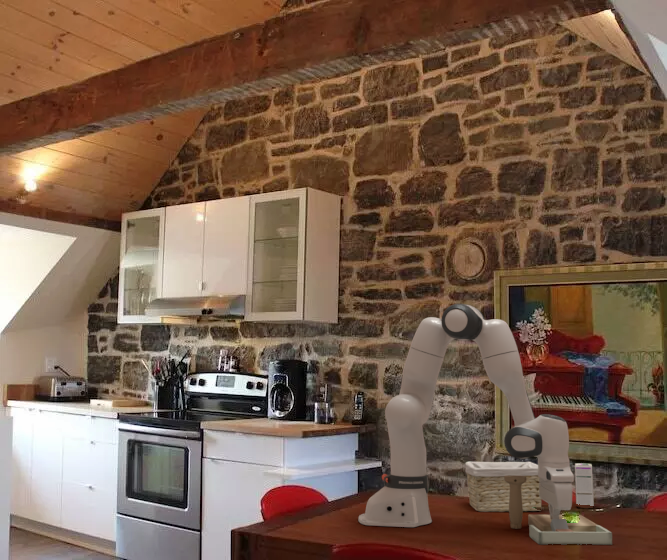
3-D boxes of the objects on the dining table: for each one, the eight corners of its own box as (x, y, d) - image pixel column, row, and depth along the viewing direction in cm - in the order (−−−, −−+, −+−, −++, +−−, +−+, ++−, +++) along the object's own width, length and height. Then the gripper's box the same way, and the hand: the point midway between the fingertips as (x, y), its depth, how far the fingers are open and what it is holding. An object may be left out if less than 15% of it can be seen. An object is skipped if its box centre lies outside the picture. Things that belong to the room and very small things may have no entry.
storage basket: (473, 512, 260) (472, 467, 261) (464, 504, 276) (463, 460, 278) (546, 513, 260) (545, 467, 262) (532, 504, 277) (531, 461, 278)
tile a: (555, 528, 221) (555, 538, 221) (560, 532, 217) (560, 541, 217) (569, 528, 221) (569, 538, 221) (574, 532, 217) (574, 541, 217)
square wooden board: (543, 536, 225) (543, 525, 226) (528, 524, 241) (528, 514, 242) (599, 536, 226) (599, 525, 226) (580, 524, 242) (580, 514, 242)
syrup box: (594, 509, 267) (593, 465, 268) (575, 508, 269) (574, 464, 270) (593, 506, 272) (592, 463, 274) (575, 505, 274) (574, 462, 276)
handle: (527, 530, 233) (526, 478, 235) (504, 529, 234) (504, 477, 236) (527, 527, 238) (526, 475, 239) (505, 525, 239) (504, 475, 241)
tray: (539, 544, 215) (538, 532, 216) (529, 536, 225) (529, 524, 225) (612, 544, 216) (611, 532, 216) (599, 536, 225) (599, 525, 226)
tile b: (553, 536, 223) (555, 531, 221) (550, 524, 226) (551, 519, 224) (567, 536, 223) (569, 531, 221) (564, 524, 226) (565, 519, 224)
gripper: (533, 466, 240) (534, 513, 238) (553, 476, 219) (554, 528, 218) (554, 466, 240) (554, 513, 238) (575, 476, 219) (577, 528, 218)
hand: (554, 520), depth 228 cm, fingers closed
